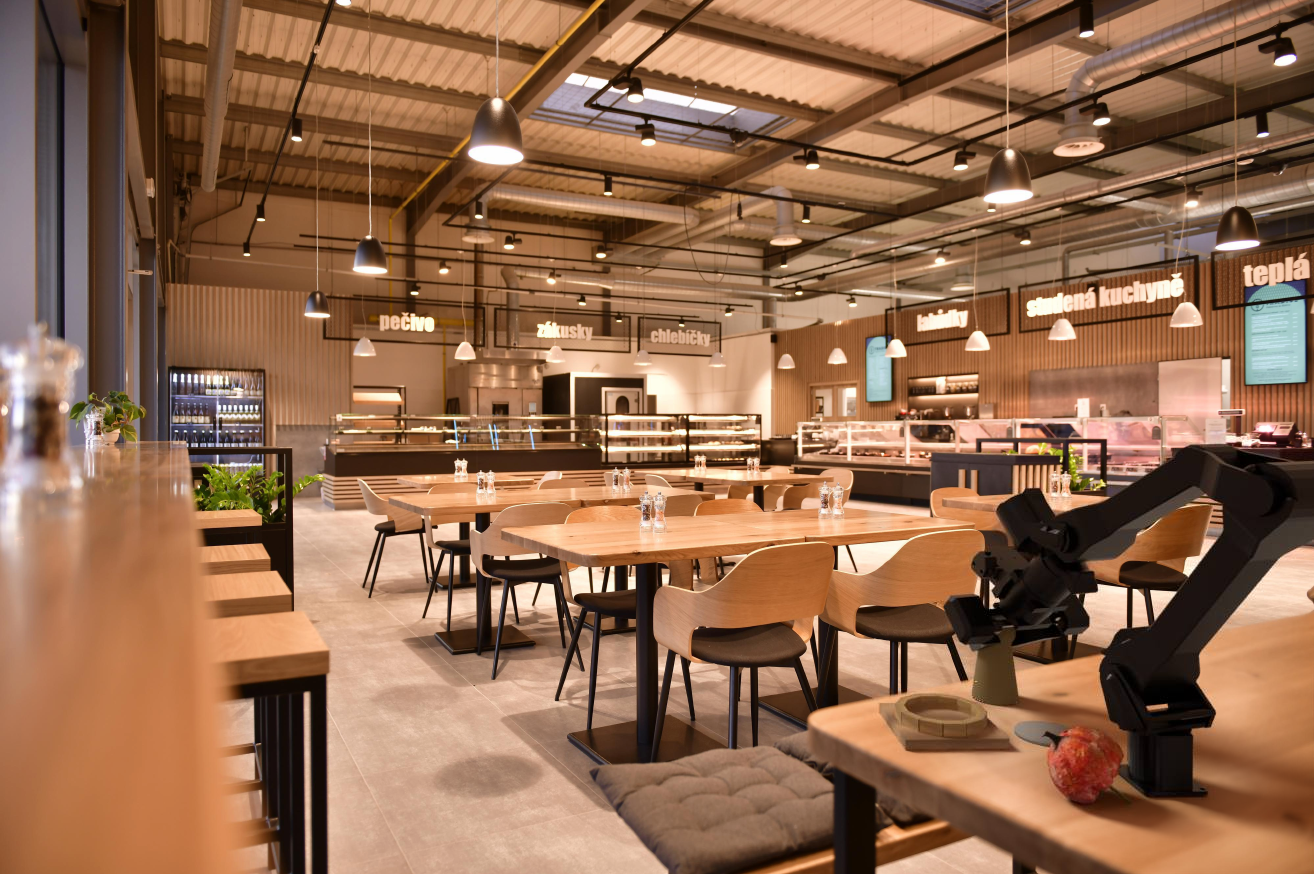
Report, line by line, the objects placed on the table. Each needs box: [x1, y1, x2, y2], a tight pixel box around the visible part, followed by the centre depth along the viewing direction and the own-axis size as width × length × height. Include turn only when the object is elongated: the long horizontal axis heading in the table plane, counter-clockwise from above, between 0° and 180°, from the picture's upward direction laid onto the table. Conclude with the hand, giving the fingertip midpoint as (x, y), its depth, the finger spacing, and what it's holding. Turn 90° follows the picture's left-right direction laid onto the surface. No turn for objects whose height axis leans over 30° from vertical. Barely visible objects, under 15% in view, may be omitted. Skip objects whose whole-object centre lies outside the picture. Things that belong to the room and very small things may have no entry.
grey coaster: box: [1013, 720, 1071, 747], centre depth 101 cm, size 7×7×1 cm
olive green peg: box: [971, 627, 1020, 706], centre depth 114 cm, size 6×6×11 cm
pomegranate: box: [1042, 725, 1133, 805], centre depth 85 cm, size 7×7×10 cm
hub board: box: [878, 692, 1010, 751], centre depth 103 cm, size 12×12×3 cm
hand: (988, 646), depth 115 cm, fingers closed on olive green peg, 5 cm apart
